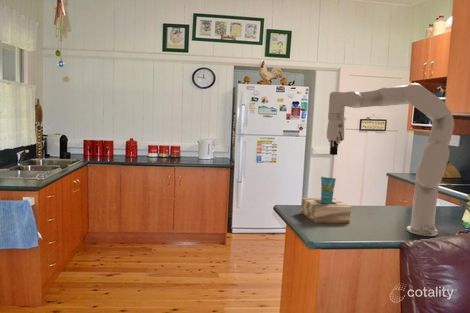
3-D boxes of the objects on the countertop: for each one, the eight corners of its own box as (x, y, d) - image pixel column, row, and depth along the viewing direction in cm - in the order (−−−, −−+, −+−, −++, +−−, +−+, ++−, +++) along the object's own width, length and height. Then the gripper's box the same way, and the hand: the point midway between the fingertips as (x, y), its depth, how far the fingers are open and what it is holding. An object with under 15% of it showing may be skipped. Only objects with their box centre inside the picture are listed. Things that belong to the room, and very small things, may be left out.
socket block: (349, 223, 183) (350, 206, 182) (314, 223, 180) (315, 206, 179) (333, 213, 201) (334, 198, 200) (300, 213, 197) (302, 198, 196)
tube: (316, 215, 189) (319, 177, 187) (319, 212, 194) (322, 175, 191) (331, 217, 186) (334, 178, 184) (334, 215, 190) (337, 177, 188)
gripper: (350, 118, 179) (347, 156, 181) (336, 117, 193) (333, 153, 195) (335, 117, 177) (333, 156, 179) (322, 116, 192) (319, 152, 194)
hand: (333, 154), depth 187 cm, fingers closed
